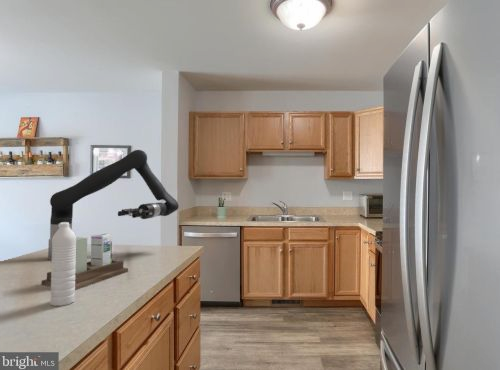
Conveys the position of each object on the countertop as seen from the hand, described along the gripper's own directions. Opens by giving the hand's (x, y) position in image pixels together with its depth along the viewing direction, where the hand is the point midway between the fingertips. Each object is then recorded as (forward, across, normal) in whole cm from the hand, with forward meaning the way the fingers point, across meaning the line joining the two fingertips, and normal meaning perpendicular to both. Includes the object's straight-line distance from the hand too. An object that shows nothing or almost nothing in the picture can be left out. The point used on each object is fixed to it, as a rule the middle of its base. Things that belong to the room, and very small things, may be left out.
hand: (125, 214), depth 140 cm
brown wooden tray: (+22, +2, +22) cm, 31 cm away
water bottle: (+44, +18, +21) cm, 52 cm away
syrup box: (+15, +2, +21) cm, 26 cm away
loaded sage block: (+28, +2, +20) cm, 35 cm away
